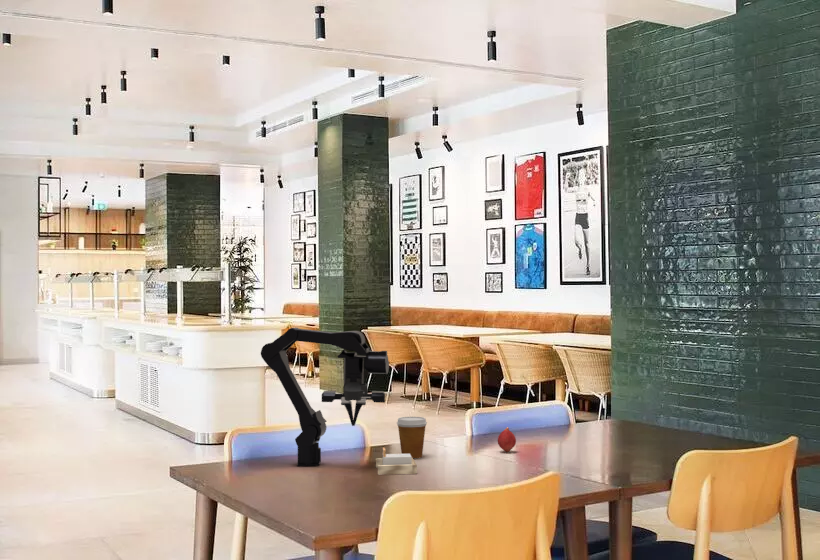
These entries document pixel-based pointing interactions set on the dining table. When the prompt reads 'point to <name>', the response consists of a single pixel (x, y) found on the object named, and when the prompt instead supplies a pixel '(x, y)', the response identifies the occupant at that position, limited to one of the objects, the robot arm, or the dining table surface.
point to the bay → (395, 468)
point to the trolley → (396, 459)
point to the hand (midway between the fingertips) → (353, 425)
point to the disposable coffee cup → (412, 435)
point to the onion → (506, 440)
